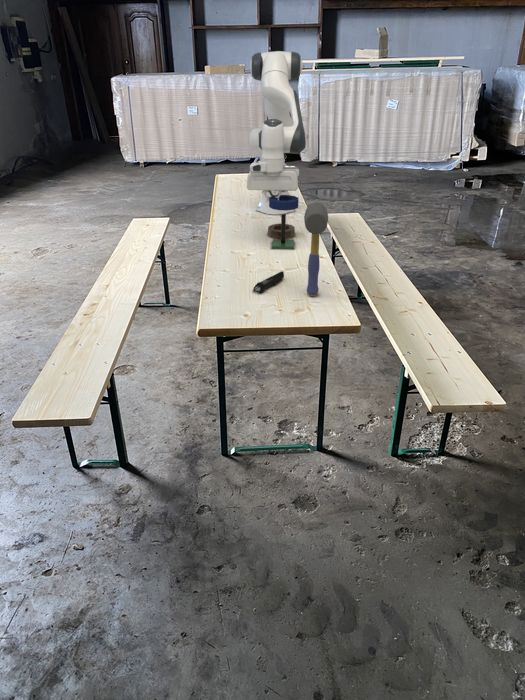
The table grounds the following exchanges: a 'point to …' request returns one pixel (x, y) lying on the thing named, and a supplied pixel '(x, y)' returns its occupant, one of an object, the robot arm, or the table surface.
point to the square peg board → (283, 237)
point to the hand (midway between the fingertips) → (272, 201)
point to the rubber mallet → (314, 242)
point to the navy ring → (284, 202)
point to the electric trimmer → (268, 282)
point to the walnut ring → (275, 231)
